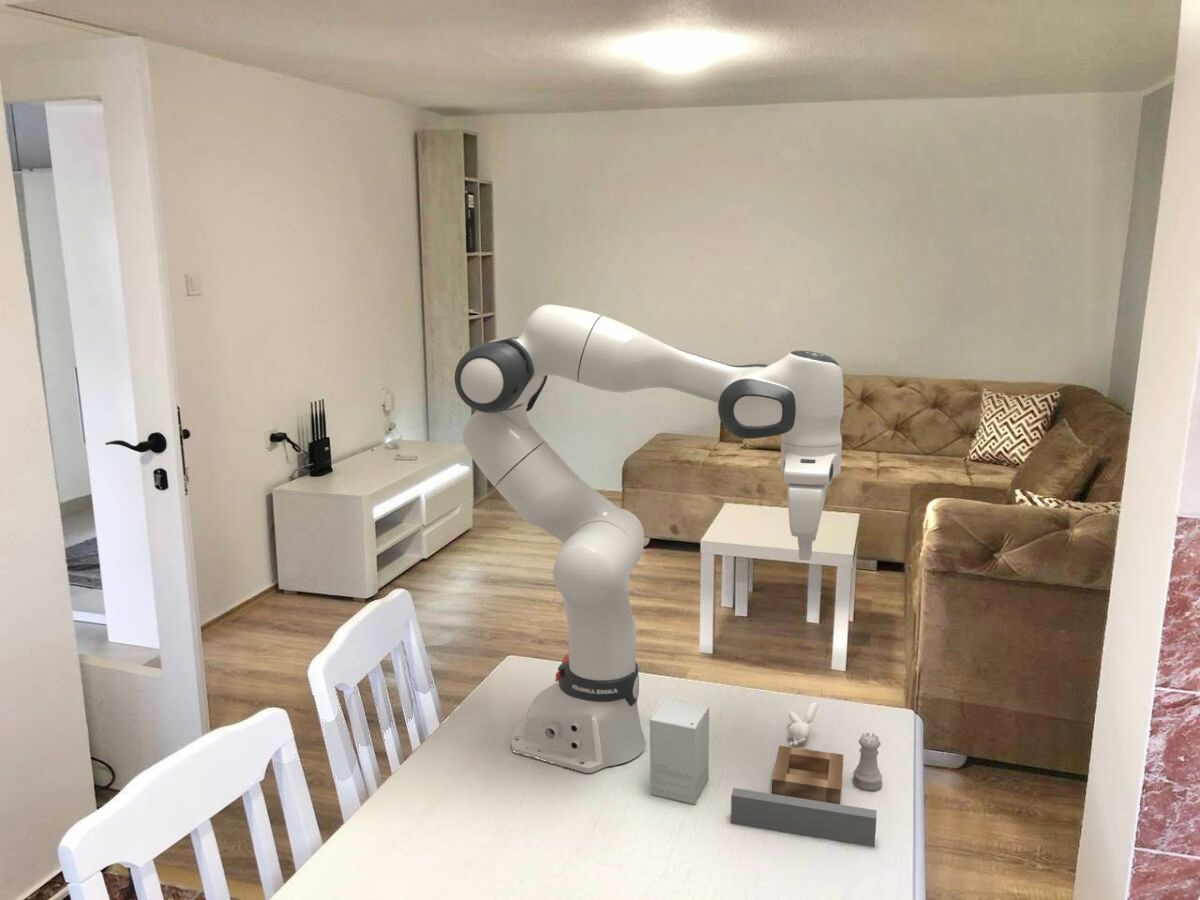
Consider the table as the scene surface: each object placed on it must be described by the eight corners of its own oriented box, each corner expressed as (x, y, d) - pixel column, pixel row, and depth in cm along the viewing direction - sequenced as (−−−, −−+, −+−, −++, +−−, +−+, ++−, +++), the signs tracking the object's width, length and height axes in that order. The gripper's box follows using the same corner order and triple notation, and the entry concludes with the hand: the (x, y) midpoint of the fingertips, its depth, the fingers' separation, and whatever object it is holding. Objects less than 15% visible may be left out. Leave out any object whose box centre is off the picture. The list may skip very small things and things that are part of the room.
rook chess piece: (883, 793, 142) (886, 745, 140) (853, 790, 143) (855, 742, 141) (880, 777, 146) (883, 731, 144) (851, 774, 147) (854, 728, 145)
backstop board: (730, 823, 134) (731, 795, 134) (732, 815, 136) (733, 787, 135) (874, 847, 129) (876, 818, 128) (874, 838, 131) (876, 810, 130)
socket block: (771, 800, 140) (771, 779, 139) (778, 765, 149) (778, 745, 148) (839, 810, 137) (840, 789, 136) (842, 774, 146) (843, 754, 145)
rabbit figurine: (776, 743, 156) (784, 705, 162) (790, 757, 157) (798, 718, 163) (804, 736, 152) (811, 697, 158) (819, 750, 153) (826, 710, 159)
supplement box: (709, 780, 145) (711, 706, 143) (694, 806, 139) (695, 728, 136) (665, 770, 148) (666, 697, 146) (648, 794, 142) (648, 718, 139)
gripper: (795, 445, 149) (792, 528, 152) (782, 474, 130) (779, 568, 133) (835, 447, 148) (832, 530, 150) (828, 477, 128) (824, 572, 131)
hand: (807, 548), depth 142 cm, fingers open, 8 cm apart
